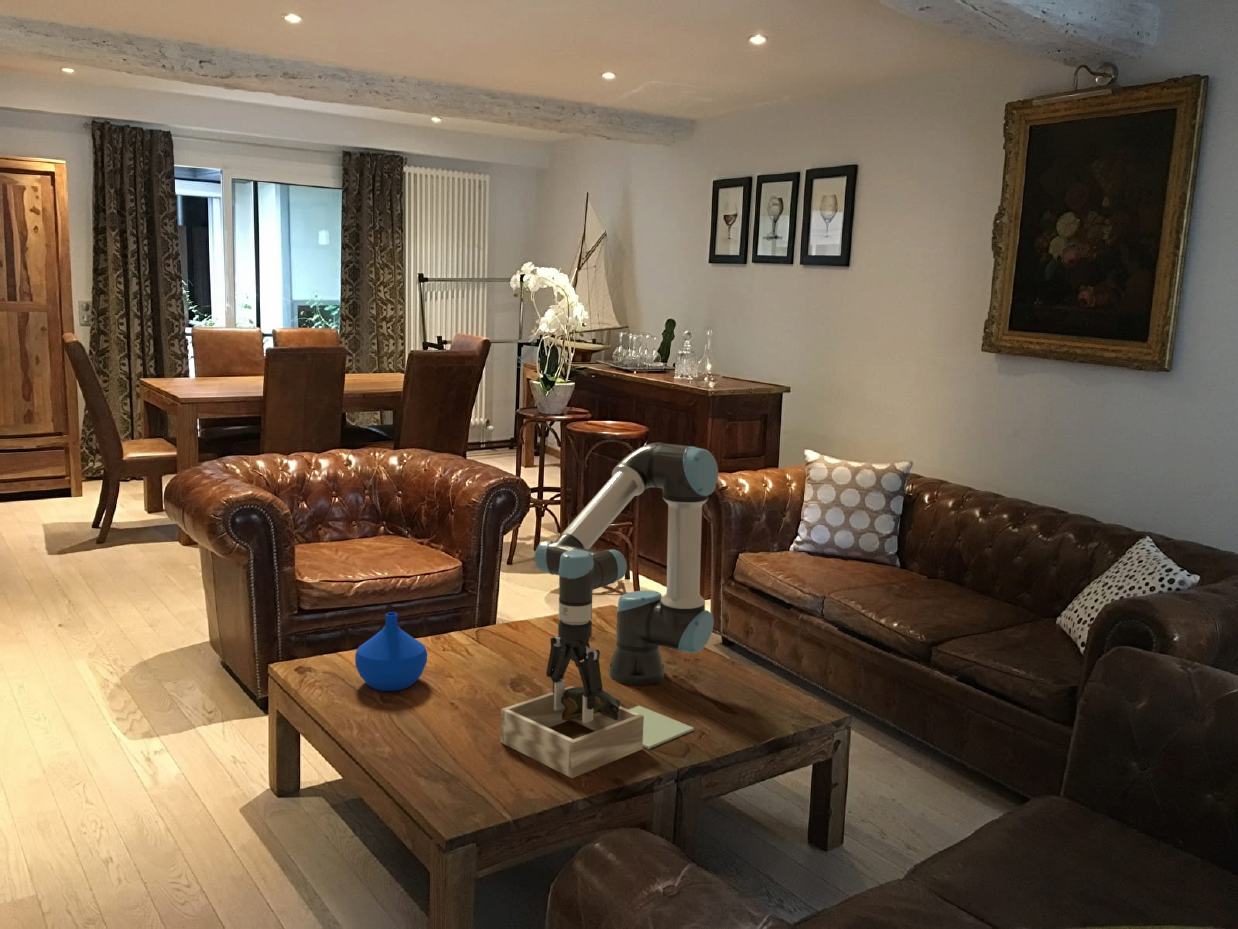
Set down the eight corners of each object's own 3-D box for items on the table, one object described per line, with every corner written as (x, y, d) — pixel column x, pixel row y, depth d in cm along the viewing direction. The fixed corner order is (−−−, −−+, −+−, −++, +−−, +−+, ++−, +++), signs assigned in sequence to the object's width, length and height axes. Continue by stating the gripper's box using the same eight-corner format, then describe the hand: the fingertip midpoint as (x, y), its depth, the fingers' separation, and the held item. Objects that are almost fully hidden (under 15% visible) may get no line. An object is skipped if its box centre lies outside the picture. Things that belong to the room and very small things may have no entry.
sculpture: (621, 714, 236) (621, 685, 235) (618, 724, 230) (618, 695, 229) (564, 711, 238) (564, 682, 237) (560, 722, 231) (560, 692, 230)
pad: (593, 724, 245) (593, 722, 245) (638, 707, 257) (639, 705, 257) (648, 749, 233) (648, 746, 233) (693, 730, 244) (693, 727, 244)
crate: (500, 742, 234) (501, 709, 233) (570, 717, 249) (571, 686, 248) (572, 778, 217) (573, 743, 216) (642, 749, 233) (643, 715, 232)
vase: (340, 690, 261) (339, 618, 258) (382, 668, 278) (382, 600, 275) (401, 703, 254) (401, 629, 251) (440, 679, 271) (441, 610, 268)
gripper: (531, 612, 234) (529, 705, 237) (596, 635, 219) (594, 734, 223) (555, 605, 239) (553, 696, 243) (621, 628, 224) (618, 725, 228)
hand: (573, 714), depth 233 cm, fingers closed on sculpture, 9 cm apart
